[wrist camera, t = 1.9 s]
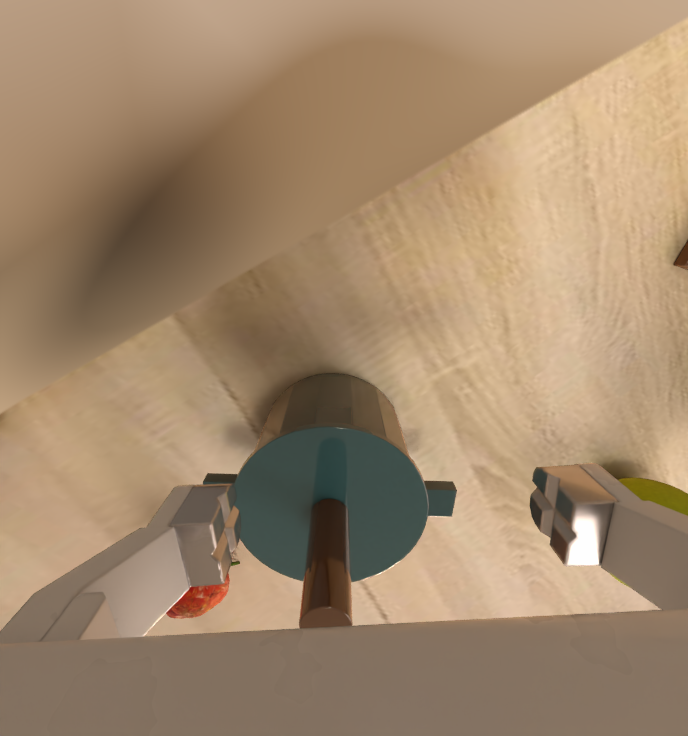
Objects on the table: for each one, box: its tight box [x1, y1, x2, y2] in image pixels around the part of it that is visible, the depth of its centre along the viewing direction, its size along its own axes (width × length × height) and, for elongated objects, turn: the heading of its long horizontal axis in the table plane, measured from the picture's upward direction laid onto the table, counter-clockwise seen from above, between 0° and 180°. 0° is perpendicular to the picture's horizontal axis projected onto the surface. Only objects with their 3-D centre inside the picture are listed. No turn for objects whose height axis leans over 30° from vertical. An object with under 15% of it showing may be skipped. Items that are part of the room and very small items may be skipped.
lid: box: [234, 423, 429, 629], centre depth 22 cm, size 13×13×9 cm
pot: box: [203, 373, 457, 517], centre depth 30 cm, size 12×18×10 cm
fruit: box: [612, 478, 688, 587], centre depth 32 cm, size 9×9×10 cm
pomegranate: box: [166, 561, 240, 619], centre depth 36 cm, size 7×7×10 cm
